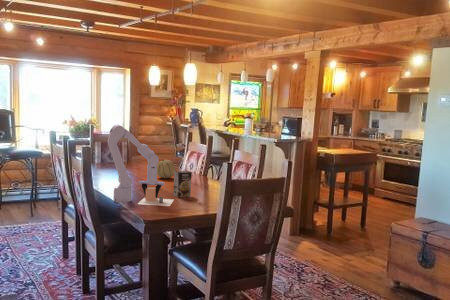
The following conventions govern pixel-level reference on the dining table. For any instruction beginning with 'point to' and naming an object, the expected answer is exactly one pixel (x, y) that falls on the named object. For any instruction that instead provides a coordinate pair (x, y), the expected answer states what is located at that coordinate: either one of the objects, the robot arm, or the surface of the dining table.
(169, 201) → the base plate
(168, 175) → the cantaloupe
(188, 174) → the coffee box
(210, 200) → the dining table surface
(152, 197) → the peach cube
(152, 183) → the robot arm
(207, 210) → the dining table surface
